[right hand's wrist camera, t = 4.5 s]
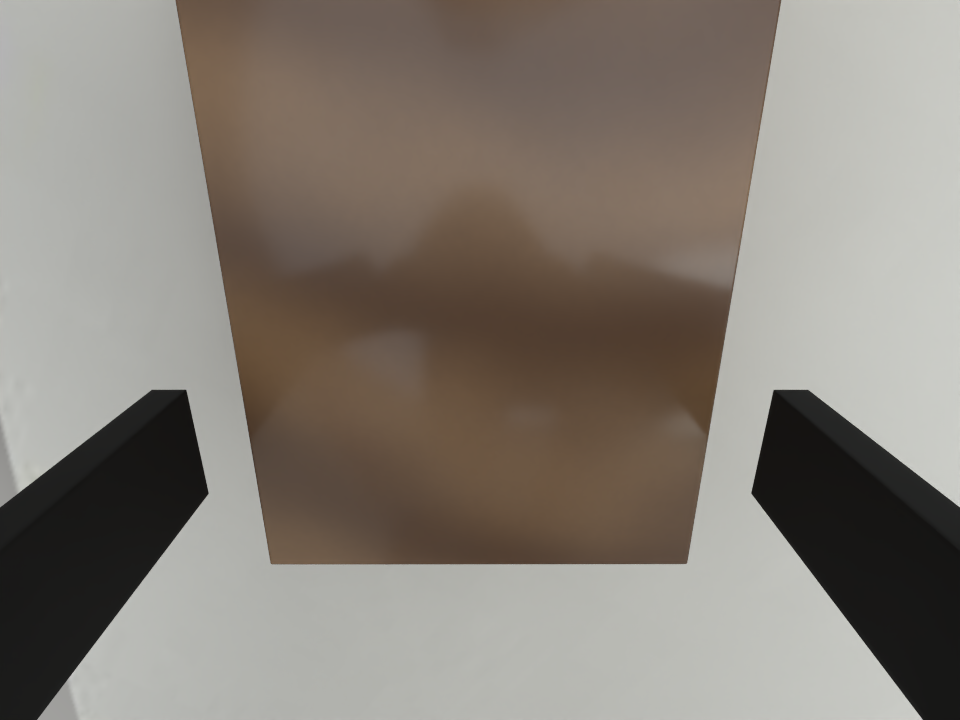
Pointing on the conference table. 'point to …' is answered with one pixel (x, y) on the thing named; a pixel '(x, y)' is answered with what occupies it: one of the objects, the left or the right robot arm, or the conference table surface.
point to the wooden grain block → (478, 264)
